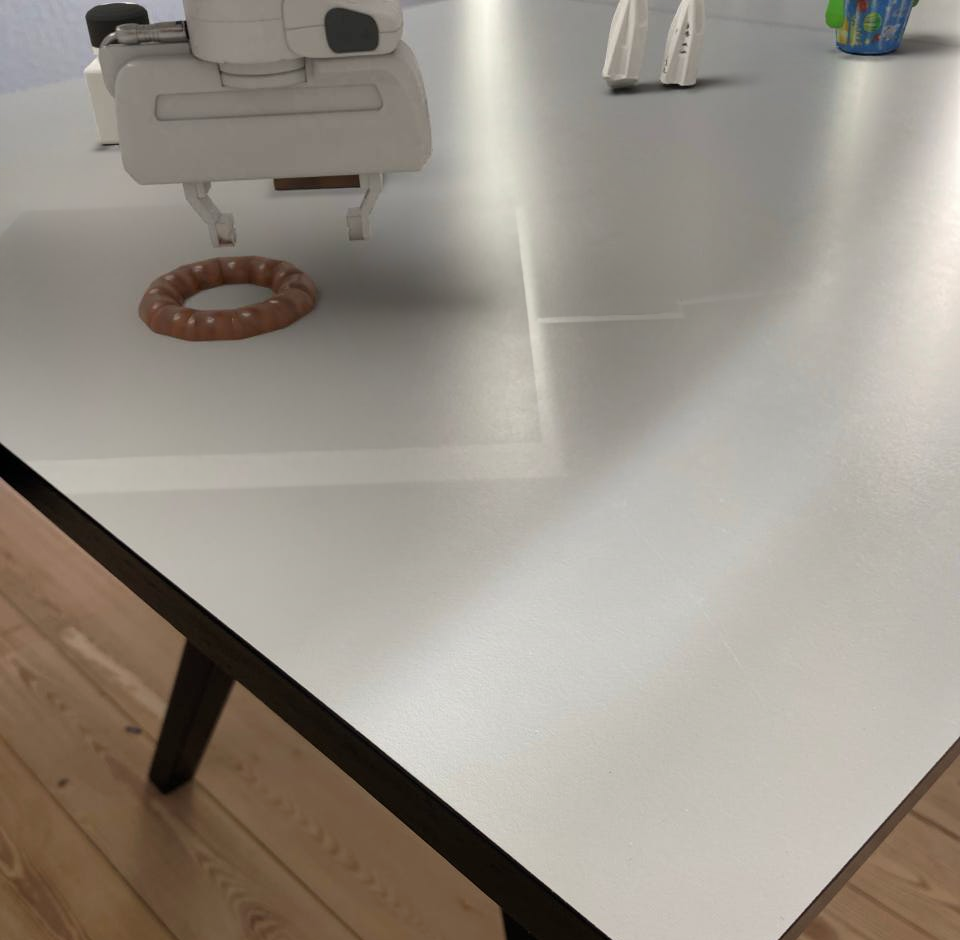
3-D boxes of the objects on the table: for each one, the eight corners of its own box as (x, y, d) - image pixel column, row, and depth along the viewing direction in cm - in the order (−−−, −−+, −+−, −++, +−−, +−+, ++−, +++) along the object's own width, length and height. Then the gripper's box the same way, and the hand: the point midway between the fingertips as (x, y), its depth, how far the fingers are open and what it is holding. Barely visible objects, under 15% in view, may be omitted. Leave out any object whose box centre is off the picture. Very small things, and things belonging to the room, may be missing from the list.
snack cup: (854, 67, 130) (871, -34, 123) (788, 51, 137) (801, -46, 130) (944, 46, 136) (965, -51, 129) (877, 31, 143) (893, -62, 136)
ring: (128, 362, 76) (118, 323, 75) (164, 289, 86) (156, 253, 84) (309, 356, 76) (303, 317, 74) (325, 283, 86) (321, 247, 84)
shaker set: (603, 96, 124) (607, -19, 116) (592, 86, 127) (596, -26, 120) (706, 87, 125) (716, -27, 118) (693, 78, 128) (703, -34, 121)
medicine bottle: (168, 142, 115) (143, 11, 107) (99, 145, 115) (68, 14, 108) (181, 122, 121) (158, -4, 113) (115, 125, 121) (87, -1, 113)
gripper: (77, 37, 66) (133, 265, 75) (421, 19, 66) (437, 250, 75) (103, 14, 71) (153, 231, 80) (423, -3, 71) (438, 217, 80)
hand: (293, 241), depth 77 cm, fingers open, 8 cm apart
